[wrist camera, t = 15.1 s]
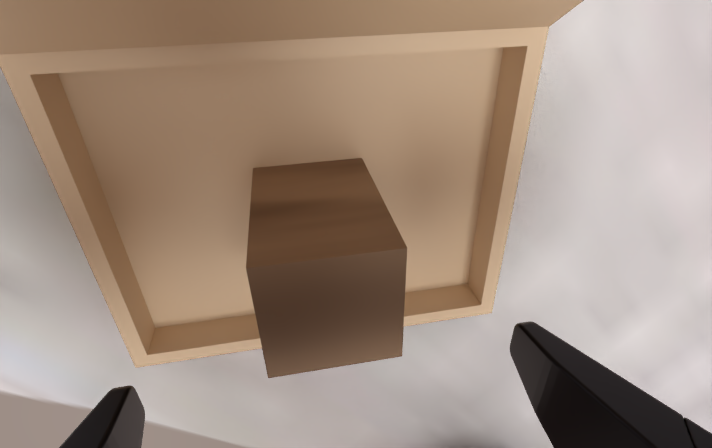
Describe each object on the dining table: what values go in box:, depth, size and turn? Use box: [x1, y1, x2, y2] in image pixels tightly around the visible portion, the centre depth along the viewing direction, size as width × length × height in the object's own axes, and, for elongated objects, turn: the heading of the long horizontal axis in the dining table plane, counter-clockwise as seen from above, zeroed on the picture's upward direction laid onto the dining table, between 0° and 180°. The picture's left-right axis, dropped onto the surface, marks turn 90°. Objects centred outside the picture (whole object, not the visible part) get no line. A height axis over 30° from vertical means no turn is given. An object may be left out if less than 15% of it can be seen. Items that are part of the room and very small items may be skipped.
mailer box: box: [0, 27, 549, 368], centre depth 16 cm, size 12×15×2 cm
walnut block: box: [246, 158, 407, 378], centre depth 14 cm, size 4×4×6 cm
